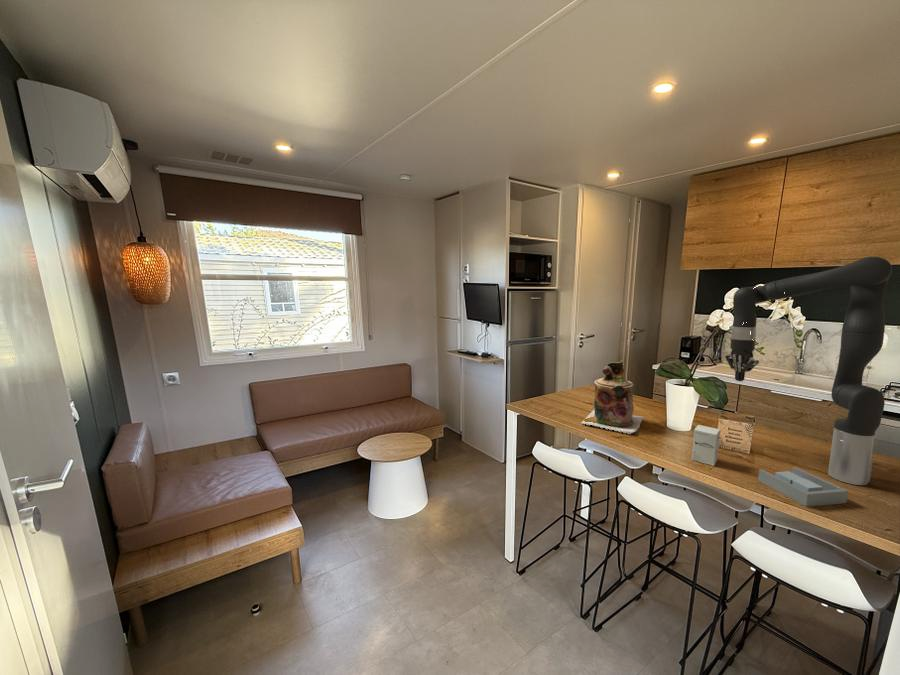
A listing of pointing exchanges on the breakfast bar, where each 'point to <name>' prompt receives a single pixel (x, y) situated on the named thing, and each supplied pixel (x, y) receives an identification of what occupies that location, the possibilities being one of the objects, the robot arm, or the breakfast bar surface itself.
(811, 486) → the tile
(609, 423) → the cookie jar
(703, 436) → the supplement box
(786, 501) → the breakfast bar surface
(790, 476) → the tile
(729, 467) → the breakfast bar surface
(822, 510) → the breakfast bar surface
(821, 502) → the tray
